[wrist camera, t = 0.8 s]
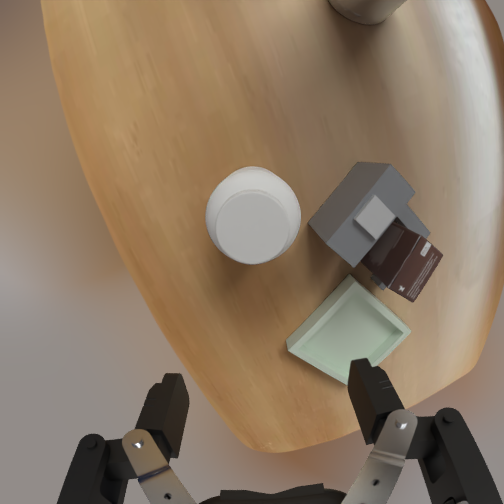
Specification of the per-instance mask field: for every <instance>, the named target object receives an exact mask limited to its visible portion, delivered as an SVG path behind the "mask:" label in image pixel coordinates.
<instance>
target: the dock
mask: <svg viewBox="0 0 504 504" xmlns="http://www.w3.org/2000/svg"><path fill="white" fill-rule="evenodd" d="M414 194H415V191H414V190H413V188H412V187H411V186H410V185H409V184H408V183H407V181H406V180H405V179H404V178H403V177H402V176H401V175H400V174H399V173H398V171H397V170H396V169H395V168H394V167H393V166H392V165H391V164H384V163H369V162H357V164H356V165H355V166H354V167H353V169H352V170H351V171H350V172H349V173H348V175H347V176H346V177H345V178H344V180H343V181H342V182H341V183H340V184H339V186H338V187H337V188H336V189H335V190H334V192H333V193H332V194H331V195H330V197H329V198H328V199H327V200H326V201H325V203H324V204H323V205H322V206H321V207H320V209H319V210H318V211H317V212H316V213H315V215H314V216H313V217H312V218H311V219H310V221H309V222H308V224H309V225H310V226H311V227H312V228H313V230H314V231H315V232H316V233H317V234H318V235H319V236H320V238H321V239H322V240H323V241H324V242H325V243H326V244H327V245H328V246H329V247H330V248H332V249H333V250H334V251H335V252H336V253H337V254H339V255H340V256H341V257H342V258H343V259H344V260H345V261H347V262H348V263H349V264H350V265H351V266H352V267H353V268H354V267H355V266H356V265H357V264H358V263H359V262H360V260H361V259H362V258H363V257H364V256H365V255H366V253H367V252H368V251H369V250H370V249H371V248H372V246H373V245H374V244H375V243H376V242H377V240H378V239H379V238H380V237H381V236H382V234H383V233H384V232H385V231H386V229H387V228H388V227H389V226H390V224H391V223H392V222H393V221H394V220H395V221H396V222H397V223H398V224H399V225H401V226H403V227H405V228H407V229H409V230H412V231H414V232H416V233H418V234H420V235H422V236H423V237H424V238H425V239H426V238H427V237H428V236H429V234H430V232H429V230H428V229H427V228H426V227H425V225H424V224H423V223H422V222H421V221H420V219H419V218H418V217H417V216H416V215H415V213H414V212H413V211H412V210H411V209H410V208H409V206H408V205H407V203H408V201H409V200H410V199H411V198H412V196H413V195H414ZM370 278H371V279H372V280H373V281H374V282H375V283H376V284H377V285H378V286H379V287H380V288H381V289H382V290H384V289H385V288H386V286H385V285H384V283H383V282H381V281H380V279H379V278H377V277H376V276H375V275H374V274H373V275H372V276H371V277H370Z"/></svg>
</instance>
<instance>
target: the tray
mask: <svg viewBox="0 0 504 504" xmlns="http://www.w3.org/2000/svg"><path fill="white" fill-rule="evenodd" d="M410 333H411V330H410V329H409V327H408V326H407V325H406V324H405V323H404V322H403V321H402V320H401V319H400V318H399V317H398V316H397V315H396V314H394V313H393V312H392V311H391V310H390V309H389V308H388V307H387V306H386V305H384V304H383V303H382V302H381V301H380V300H379V299H378V298H377V297H375V296H374V295H373V294H372V293H371V292H370V291H369V290H368V289H366V288H365V287H364V286H363V285H362V284H361V283H359V282H358V281H357V280H356V279H355V278H354V277H353V276H351V275H350V274H348V275H347V276H346V278H345V279H344V280H343V281H342V282H341V283H340V284H339V285H338V286H337V287H336V289H335V290H334V291H333V292H332V293H331V294H330V295H329V296H328V297H327V298H326V299H325V300H324V301H323V303H322V304H321V305H320V306H319V307H318V308H317V309H316V310H315V311H314V312H313V313H312V314H311V315H310V316H309V317H308V318H307V319H306V320H305V321H304V322H303V323H302V324H301V325H300V326H299V327H298V328H297V329H296V330H295V331H294V332H293V333H292V334H291V335H290V336H289V337H288V338H287V339H286V343H287V348H288V351H289V352H291V353H293V354H294V355H296V356H298V357H299V358H301V359H303V360H304V361H306V362H308V363H309V364H311V365H313V366H314V367H316V368H318V369H320V370H321V371H323V372H325V373H326V374H328V375H330V376H332V377H333V378H335V379H337V380H339V381H340V382H342V383H344V384H346V385H348V377H349V370H350V363H351V361H352V360H356V359H361V358H367V359H368V360H369V362H370V364H371V366H372V367H375V366H377V365H378V364H379V363H380V362H381V361H382V360H383V359H385V358H386V357H387V356H388V355H389V354H390V353H391V352H392V351H393V350H394V349H395V348H396V347H397V346H398V345H399V344H400V343H401V342H402V341H403V340H404V339H405V338H406V337H407V336H408V335H409V334H410Z"/></svg>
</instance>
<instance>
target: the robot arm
mask: <svg viewBox="0 0 504 504" xmlns="http://www.w3.org/2000/svg"><path fill="white" fill-rule="evenodd" d="M405 1H407V0H329V2H330V4H331V5H332V6H333V7H334V8H335V10H337V11H338V12H339V13H340V14H341V15H343V16H345V17H346V18H348V19H350V20H352V21H354V22H358V23H361V24H367V25H374V24H378V23H381V22H382V21H384V20H385V19H386V18H387V17H388V16H389V15H390V14H392V13H393V12H394V11H395V10H396V9H397V8H399V7H400V6H401V5H402V4H403V3H404V2H405ZM348 393H349V396H350V399H351V402H352V405H353V408H354V410H355V413H356V416H357V419H358V422H359V425H360V428H361V431H362V434H363V436H364V440H365V442H366V445H368V444H372V443H374V448H373V450H372V452H371V453H370V454H369V456H368V458H367V460H366V462H365V464H364V466H363V468H362V469H361V471H360V473H359V475H358V477H357V478H356V480H355V482H354V483H353V485H352V487H351V488H350V490H349V492H348V493H347V494H346V493H344V492H341V491H338V490H334V489H324V486H323V483H321V484H314V485H307V486H300V487H295V488H292V489H289V490H286V491H283V492H279V493H275V494H265V493H259V492H253V491H247V490H221V493H220V496H216V497H213V498H210V499H207V500H205V501H203V502H201V503H199V504H386V503H387V501H388V499H389V497H390V495H391V493H392V490H393V489H394V486H395V484H396V482H397V480H398V477H399V475H400V473H401V471H402V468H403V466H404V463H405V459H418V462H419V465H420V467H421V471H422V474H423V477H424V480H425V483H426V486H427V489H428V493H429V496H430V499H431V502H432V504H503V503H502V500H501V498H500V495H499V493H498V490H497V488H496V485H495V483H494V481H493V478H492V476H491V474H490V472H489V469H488V467H487V465H486V463H485V461H484V458H483V456H482V454H481V452H480V450H479V448H478V446H477V444H476V442H475V440H474V438H473V436H472V434H471V432H470V431H469V428H468V427H467V425H466V423H465V421H464V419H463V417H462V416H461V414H460V413H459V411H457V410H456V409H453V408H443V409H441V410H439V411H438V412H437V414H436V415H435V416H430V417H417V416H415V415H414V413H412V412H410V411H409V410H405V408H404V406H403V404H402V402H401V400H400V399H399V397H398V395H397V393H396V391H395V389H394V387H393V385H392V383H391V381H389V378H388V376H387V374H386V372H385V371H384V370H383V369H381V368H380V367H379V366H375V367H372V366H371V364H370V362H369V360H368V359H367V358H361V359H356V360H352V361H351V363H350V370H349V377H348ZM188 408H189V395H188V392H187V389H186V386H185V383H184V380H183V377H182V375H181V374H180V373H179V374H178V373H166V374H165V375H164V377H163V380H162V383H156V384H155V385H154V386H153V387H152V388H151V389H150V390H149V392H148V395H147V397H146V400H145V403H144V406H143V408H142V411H141V413H140V416H139V419H138V421H137V424H136V427H135V429H134V430H131V431H129V432H128V433H127V434H125V435H124V437H123V438H122V439H115V440H104V438H103V437H102V436H100V435H98V434H89V435H86V436H84V437H83V438H82V439H81V440H80V442H79V444H78V447H77V449H76V452H75V455H74V457H73V460H72V462H71V465H70V468H69V470H68V473H67V476H66V479H65V481H64V484H63V487H62V490H61V493H60V496H59V498H58V502H57V504H123V502H124V497H125V493H126V488H127V484H128V479H136V478H138V482H139V484H140V486H141V488H142V489H143V491H144V493H145V495H146V497H147V498H148V500H149V502H150V504H197V503H196V502H195V501H194V500H193V498H192V497H191V495H190V494H189V493H188V491H187V490H186V489H185V487H184V486H183V485H182V483H181V482H180V480H179V479H178V477H177V476H176V475H175V473H174V472H173V470H172V469H171V467H170V466H169V461H170V458H178V456H179V451H180V446H181V441H182V436H183V431H184V427H185V422H186V418H187V413H188Z"/></svg>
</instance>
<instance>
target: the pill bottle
mask: <svg viewBox="0 0 504 504" xmlns="http://www.w3.org/2000/svg"><path fill="white" fill-rule="evenodd" d="M300 222H301V212H300V206H299V203H298V200H297V197H296V195H295V194H294V192H293V190H292V189H291V188H290V187H289V185H288V184H287V183H286V182H285V181H283V180H282V179H281V178H279V177H278V176H277V175H275V174H274V173H272V172H271V171H269V170H267V169H264V168H261V167H255V166H251V167H244V168H241V169H238V170H236V171H235V172H233V173H232V174H230V175H229V176H228V177H227V178H225V179H224V180H223V181H222V182H221V183H220V184H219V185H218V186H217V187H216V188H215V190H214V191H213V193H212V194H211V196H210V198H209V201H208V204H207V208H206V226H207V230H208V233H209V235H210V237H211V239H212V241H213V243H214V244H215V245H216V246H217V248H218V249H219V250H220V251H221V252H222V253H224V254H225V255H226V256H228V257H230V258H231V259H234V260H235V261H237V262H241V263H244V264H249V265H250V264H252V265H254V264H261V263H265V262H268V261H270V260H273V259H275V258H277V257H278V256H280V255H281V254H283V253H284V252H285V251H286V250H287V249H288V248H289V247H290V246H291V244H292V243H293V242H294V240H295V238H296V236H297V234H298V231H299V228H300Z"/></svg>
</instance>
